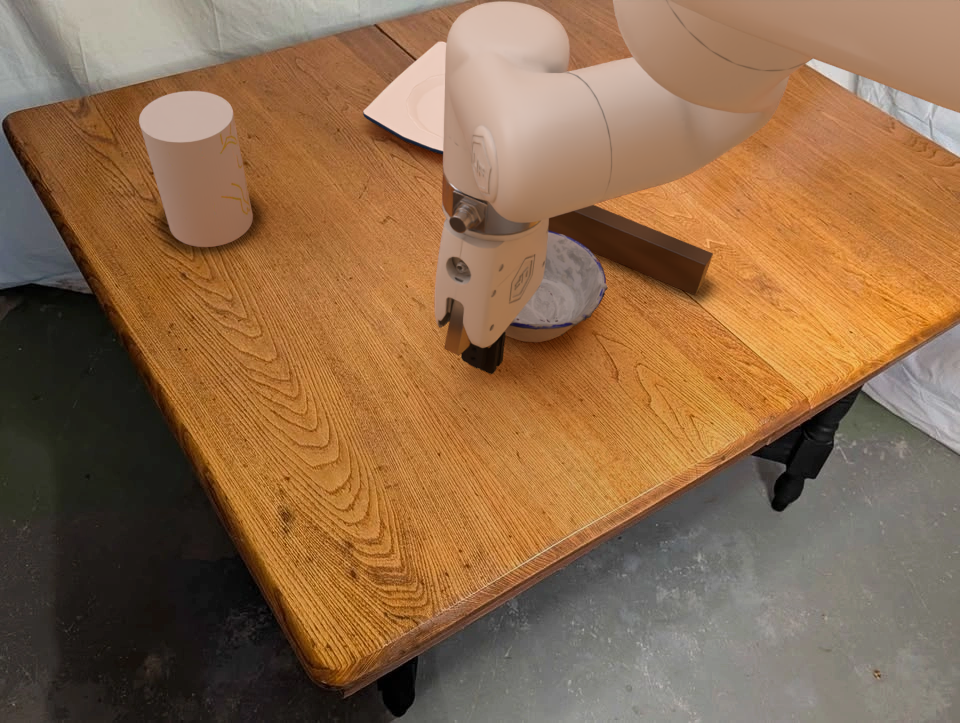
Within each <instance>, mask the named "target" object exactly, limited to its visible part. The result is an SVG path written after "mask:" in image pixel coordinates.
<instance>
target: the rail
mask: <svg viewBox="0 0 960 723" xmlns="http://www.w3.org/2000/svg"><path fill="white" fill-rule="evenodd" d="M548 230H549V231H552V232H556V233H558V234H563V235H565V236H567V237H570V238H572V239H574V240H576V241H578V242H580V243H581V244H583V245H584V246H586V247H587V248H588V249H589V250H590V251H591V252H592V253H593V254H594V253H595V254H597V255H599V256H601V257H604V258H606V259H609V260H610V261H612V262H615V263H618V264H620V265H622V266H624V267H627V268H630V269H631V270H633V271H637V272H639V273H641V274H643V275H646V276H648V277H650V278H653V279H655V280H658V281H660V282H663V283H664V284H667V285H670V286H671V287H674V288H677V289H679V290H681V291H684V292H686V293H688V294H691V295H693V296H697V294H698V293H699V291H700V289H701V287H702V286H703V284H704V281H705V279H706V275H707V273H708V270H709V267H710V264H711V261H712V258H713V255H714V253H713V252H710V251H708V250H706V249H703V248H701V247H698V246H696V245H694V244H691V243H689V242H687V241H683V240H681V239H679V238H676V237H674V236H671V235H669V234H666V233H664V232H661V231H659V230H656V229H654V228H651V227H649V226H647V225H644V224H642V223H639V222H637V221H634V220H632V219H629V218H627V217H625V216H622V215H620V214H617V213H614V212H612V211H610V210H607V209H605V208H603V207H599V206H597V205H596V204H594V205H592V206H588V207H585V208H582V209H578V210H575V211H571V212H568V213H565V214H561V215H558V216H555V217H551V218H549V226H548Z"/></svg>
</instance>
